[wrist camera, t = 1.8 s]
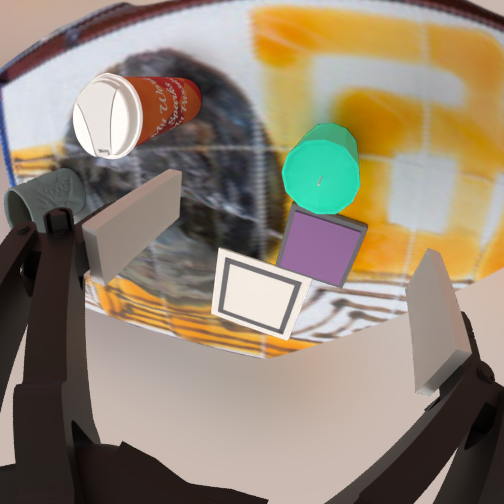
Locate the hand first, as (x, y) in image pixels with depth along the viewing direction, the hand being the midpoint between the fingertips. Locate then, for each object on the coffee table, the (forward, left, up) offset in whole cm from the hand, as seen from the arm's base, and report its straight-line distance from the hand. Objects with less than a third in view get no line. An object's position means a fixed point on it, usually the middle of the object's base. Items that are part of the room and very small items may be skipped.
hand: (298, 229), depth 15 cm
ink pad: (-2, +12, -19) cm, 22 cm away
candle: (0, 0, -19) cm, 19 cm away
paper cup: (+18, -2, -19) cm, 26 cm away
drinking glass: (+40, +15, -19) cm, 47 cm away
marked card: (+4, +23, -19) cm, 30 cm away
